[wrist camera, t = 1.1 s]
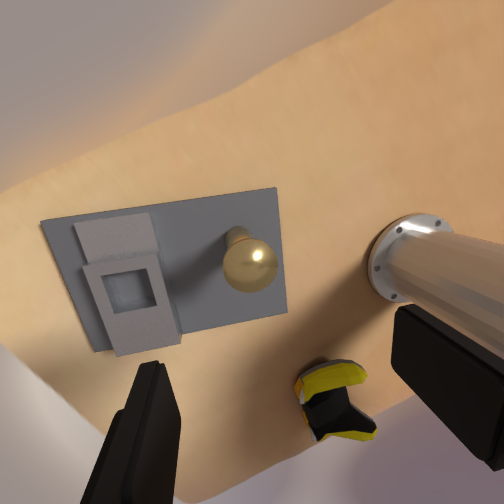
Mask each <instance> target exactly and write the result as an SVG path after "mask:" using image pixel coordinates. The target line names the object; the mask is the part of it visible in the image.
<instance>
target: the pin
mask: <svg viewBox="0 0 504 504" xmlns="http://www.w3.org/2000/svg"><path fill="white" fill-rule="evenodd" d="M225 242H226V246H227V251H226V253H225V255H224V258H223V264H222V266H223V273H224V277H225V279H226V281H227V282H228V284H229V285H230V286H231V287H232V288H234V289H236V290H237V291H240V292H244V293H253V292H258V291H260V290H262V289H264V288H266V287H267V286H268V285H270V284H271V282H272V281H273V280H274V278H275V276H276V274H277V271H278V259H277V256H276V254H275V252H274V251H273V250H272V248H271V247H270V246H269V245H268V244H267V243H265V242H264V241H262V240H259V239H256V238H253V236H252V235H251V233H250V232H249V230H248V229H247V228H245V227H243V226H234V227H232V228H231V229H229V230H228V232H227V233H226V236H225Z"/></svg>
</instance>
